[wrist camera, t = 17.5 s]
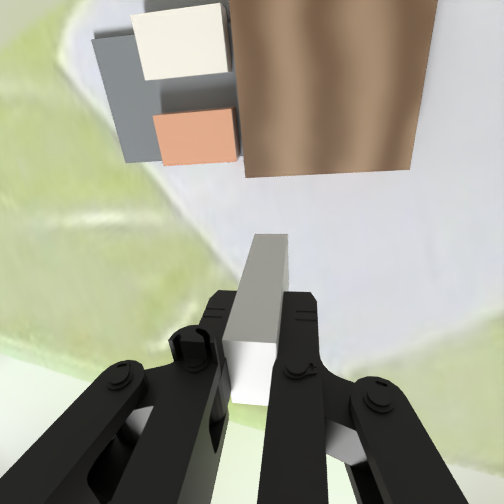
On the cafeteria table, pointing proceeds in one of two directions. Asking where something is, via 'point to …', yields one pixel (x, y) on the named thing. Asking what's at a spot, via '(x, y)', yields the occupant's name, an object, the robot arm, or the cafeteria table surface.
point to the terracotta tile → (198, 136)
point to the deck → (329, 83)
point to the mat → (155, 95)
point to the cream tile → (183, 42)
